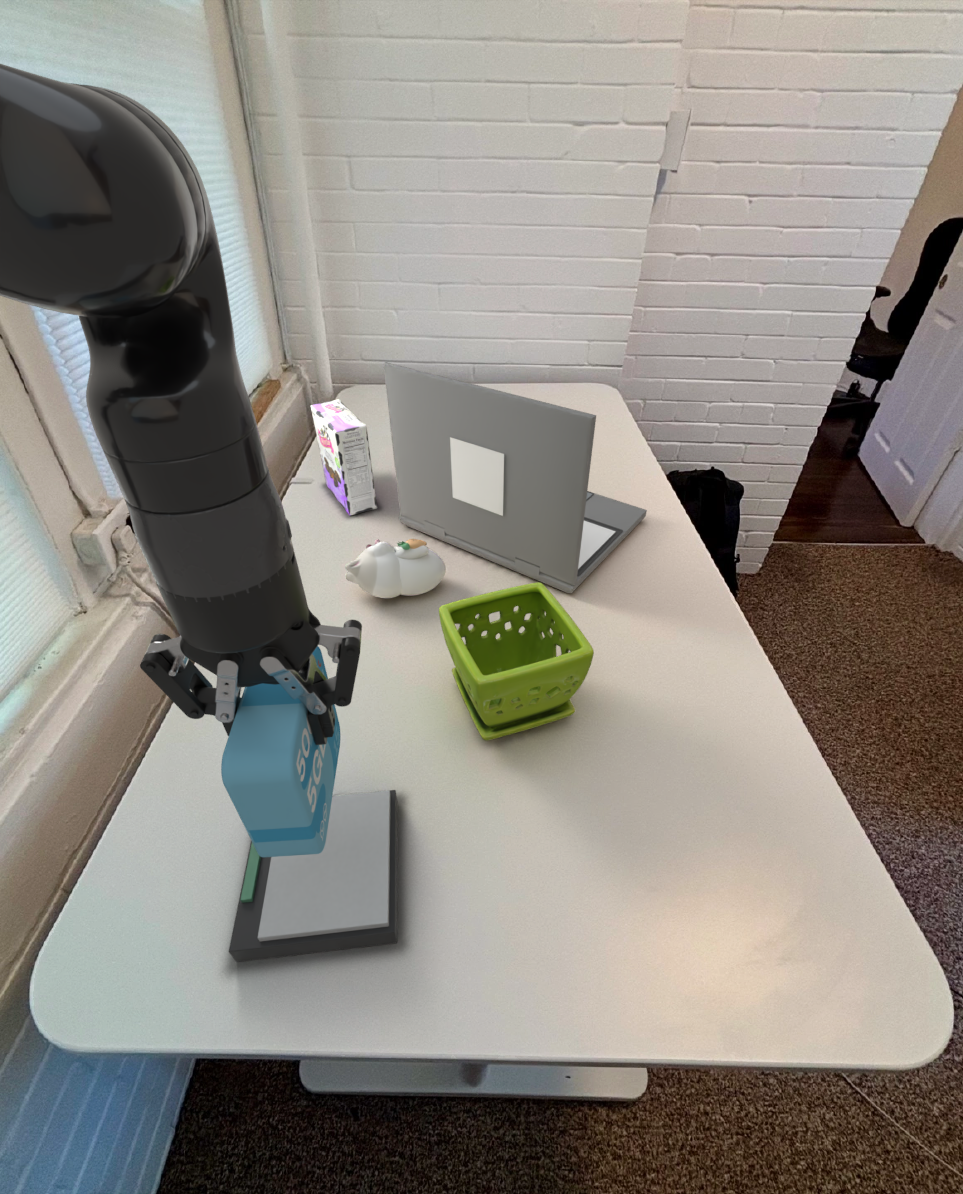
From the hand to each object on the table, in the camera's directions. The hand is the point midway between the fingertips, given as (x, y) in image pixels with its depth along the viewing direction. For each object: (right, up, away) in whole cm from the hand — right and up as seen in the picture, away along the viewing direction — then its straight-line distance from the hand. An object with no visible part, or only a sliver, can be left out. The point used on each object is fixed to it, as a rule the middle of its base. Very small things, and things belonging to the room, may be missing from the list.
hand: (287, 737), depth 44 cm
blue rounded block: (0, -6, +5) cm, 8 cm away
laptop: (+22, +23, +61) cm, 69 cm away
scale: (-1, -16, +13) cm, 21 cm away
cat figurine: (+2, +11, +47) cm, 49 cm away
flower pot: (+18, -3, +30) cm, 35 cm away
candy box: (-11, +30, +70) cm, 76 cm away
